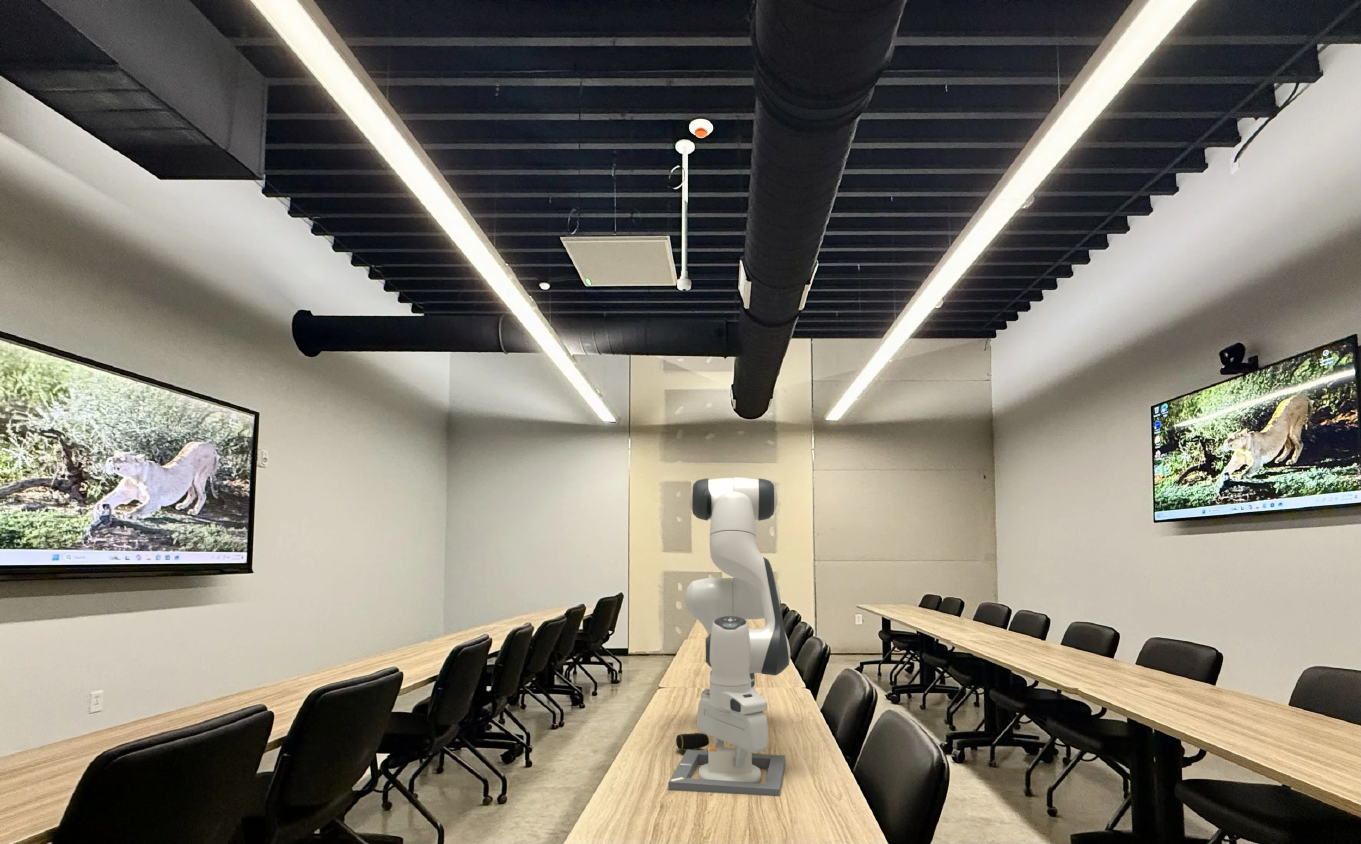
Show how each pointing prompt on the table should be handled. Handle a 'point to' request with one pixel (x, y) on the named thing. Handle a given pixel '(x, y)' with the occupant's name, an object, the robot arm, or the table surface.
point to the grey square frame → (698, 757)
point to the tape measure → (692, 741)
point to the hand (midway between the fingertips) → (730, 763)
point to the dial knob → (728, 766)
